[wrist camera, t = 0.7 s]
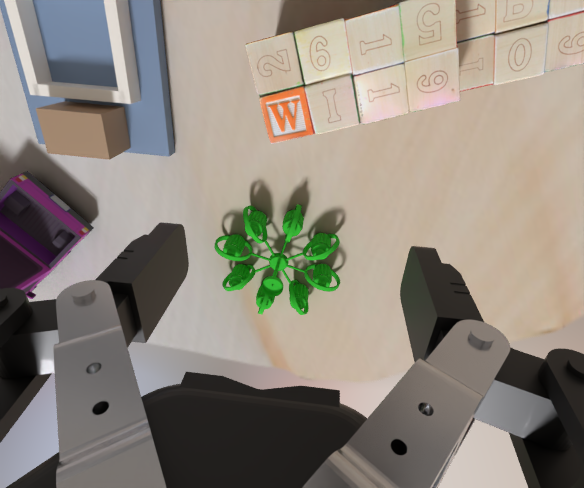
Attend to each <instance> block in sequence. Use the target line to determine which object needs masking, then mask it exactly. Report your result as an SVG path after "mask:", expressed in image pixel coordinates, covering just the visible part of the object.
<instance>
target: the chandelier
mask: <svg viewBox="0 0 584 488" xmlns="http://www.w3.org/2000/svg"><path fill="white" fill-rule="evenodd" d="M301 207H302V206H301V205H298V204H297V206H296V208H295V210H290V211H289V212H287V214H286V215H285V217H284V220H283V226H282V227H283V231H284V233H285V234H286V237H285V243H284V246H283V249H282V251H281V253H275V254H274V252H273V251H272V249H271V247H270V246H269V244H268V242H267V241H266V240H267V230H266V224H267V218H266V215H265V214H264V213H263V212H261V211H257V210H256V208H255V207H253V206H248V207H245V208H244V210H243V218H244V223H245V231H246V233H247V234H248V235H249V236H251V237H252V238H253V239H254V241H256V242H257V243H263V242H265V243H266V245H267V247H268V248H269V250H270V252H271V253H272V255H271V256H270V258H266V257H263V256H260V255H257V254H254V253H252V247H251V245H250V244H249V243H248V242H247V241H245V240H244V238H243V237H242V236H240V235H237V234H234V235H231V236H229V235H226V236H221V237H219V238H218V239H217V240H216V242H215V250H216V251H217V253H218V254H220V255H221V256H222V257H224V258H226V259H229V260H233V261H243V260H246V259H248V258H249V257H250V256H251V255H253V256H256V257H259V258H262V259H265V260H268V261H269V263H270V265H268V266H265V267H263V268H260V269H257V270H255V269H254V267H253V266H252V265H247V266H246V265H243V264H238V265H236V266H235V267H234V268H233V270H232V272H231V273H230V274H229V275H228V276H227V277H226V278H225V279H224V281H223V287H224V289H225V290H227V291H233V290H240V289H242V288H243V287H244V286H245V285H246V284H247V283H248V282H249V281H250V280H251V279H252V278H253V277H254V275H255V272H258V271H261V270H263V269H266V268H269V267H272V269H274V273H273V276H269V277H266V278H265V279H264V280H263V282H262V285H261V287H260V288H259V290H258V293H257V296H256V304H257V306H258V307H259V311H258V313H259V314H263V311H264V309H268V308H270V307H271V305H272V303H273V302H274V298H275V296H278V295H279V294H281V292H282V290H283V283H282V281H281V280H280V279H279V278H277V273H278V271H281V270H282V272H283V273H284V275H285V277H286V278H287V280H288V282H289V283H290V284H289V292H290V304H291V306H292V307H293V308H294V309H296V311H297V312H298V313H299V314H300V315H304V314H307V312H308V293H309V291H308V288H307V287H306V286H305V285H304V284H300V283H299V282H298V281H297V280H294V281H290V279H289V278H288V276H287V274H286V273H285V271H284V269H285V268H286V267H289V268H292V269H295V270H298V271H301V272H304V275H305V278H306V280H307V281H308V282H309V283H310V284H311V285H312V286H314V287H315V288H317V289H319V290H323V291H334V290H336V289H337V288H338V286H339V284H340V279H339V277H338V275H337V274H336V273H335V272H334V271H333V270H331V268H330V267H329V266H328V265H326V264H319V265H315V264H313V265H309V266H308V267H307V268H306V270H302V269H299V268H296V267H293V266H290V265H288V260H290V259H293V258H295V257H298V256H301V255H304V257H305V258H306V259H307V260H318V259H320V260H322V259H325V258H327V257H328V255H329V254H331V253H332V252H333V251H335V250H336V249H337V247H338V246H339V243H340V241H339V238H338V236H337V235H335V234H328V235H327V234H325V233H318V234H316V235H314V237H313V239H312V241H311V242H309V243H308V244H307V245H306V246H305V248H304V250H303V253H300V254H297V255H295V256H292V257H289V258H287V257H286V256H285V255H284V254H283V252H284V249H285V247H286V244H287V243H289V242H290V240H291V238H292V237H293V236H297V235H298V234H299V233H300V231H301V230H302V227H303V220H304V217H303V216H302V213H300V211H301ZM248 209H250V210H251V211H252V212H251V214H250V215H249V216H248ZM260 213H261V214H260ZM259 222H260V223H259ZM261 233H263V239H262V240H261V239H259V238H258V236H259V235H260V234H261ZM330 238H335V239H336V242H335V244H334V245H333V246H332V247H331V239H330ZM222 240H227V241H226V243H225V245H224V248H223V251H222V250H220V249H219V247H218V245H217V243H218V242H220V241H222ZM232 244H233V245H232ZM315 244H316V245H315ZM325 244H326V245H325ZM235 245H236V246H235ZM245 246H246V247H247V248H248V249H249V251H250V253H249V254H248V255H246V256H241V257H239V256H240V255H241V254H242V252H243V250H244V247H245ZM310 247H311V251H312V255H313V256H307V255H306V253H307V251H308V250H309V248H310ZM323 266H324V267H323ZM312 268H315V269H314V270H313V280H312V279H311V278H310V277H309V276H308V273H307V271H308V270H309V269H312ZM249 269H252V272H251V273H250V270H249ZM239 275H240V276H239ZM241 276H242V277H241ZM332 276H333V277H334V278H335V279H336V281H337V285H336V286H334V287H329V286H330V283H331V281H332ZM228 281H229V285H230V286H231V287H226V284H227V282H228ZM294 283H295V284H296V285H294ZM293 285H294V286H293ZM303 308H304V312H303V311H302V310H301V309H303Z"/></svg>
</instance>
